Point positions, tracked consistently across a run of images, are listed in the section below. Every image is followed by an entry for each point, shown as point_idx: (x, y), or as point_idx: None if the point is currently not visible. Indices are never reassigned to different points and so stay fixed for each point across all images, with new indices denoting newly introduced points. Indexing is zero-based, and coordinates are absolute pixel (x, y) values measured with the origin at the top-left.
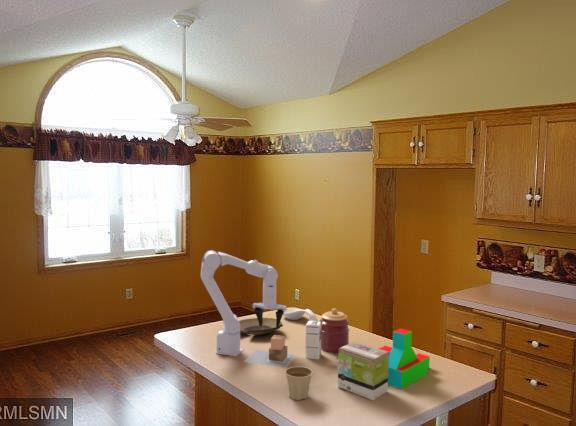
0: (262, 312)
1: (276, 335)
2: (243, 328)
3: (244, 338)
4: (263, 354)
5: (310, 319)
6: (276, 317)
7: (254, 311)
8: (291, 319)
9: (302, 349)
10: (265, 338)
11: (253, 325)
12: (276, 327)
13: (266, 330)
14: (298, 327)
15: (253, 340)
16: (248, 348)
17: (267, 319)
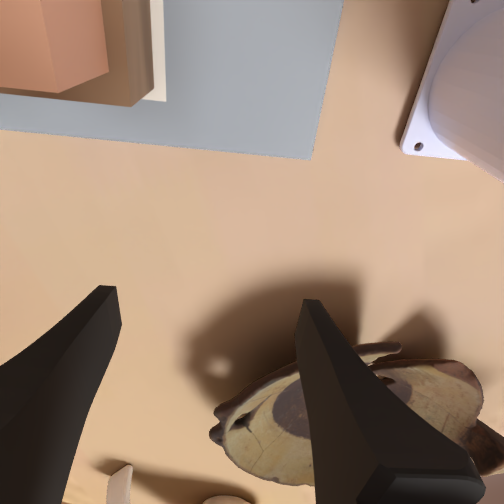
0: (318, 478)
1: (14, 68)
2: (414, 403)
3: (399, 324)
4: (234, 81)
5: (126, 500)
6: (39, 381)
7: (473, 464)
8: (228, 497)
9: (25, 246)
10: (287, 342)
11: None
12: (114, 286)
13: (282, 370)
14: (176, 454)
15: (347, 310)
16: (364, 191)
17: (309, 476)
